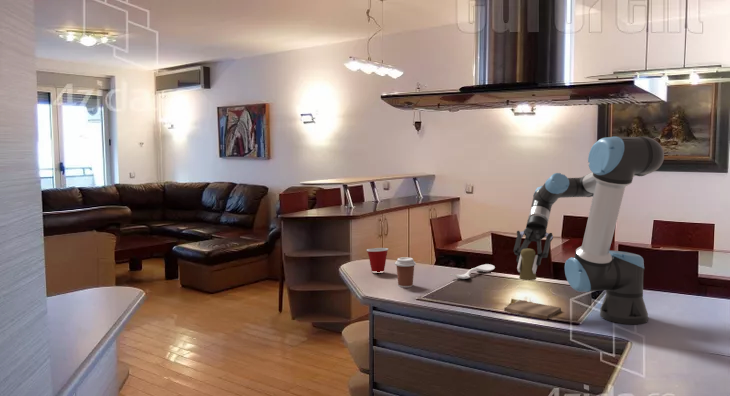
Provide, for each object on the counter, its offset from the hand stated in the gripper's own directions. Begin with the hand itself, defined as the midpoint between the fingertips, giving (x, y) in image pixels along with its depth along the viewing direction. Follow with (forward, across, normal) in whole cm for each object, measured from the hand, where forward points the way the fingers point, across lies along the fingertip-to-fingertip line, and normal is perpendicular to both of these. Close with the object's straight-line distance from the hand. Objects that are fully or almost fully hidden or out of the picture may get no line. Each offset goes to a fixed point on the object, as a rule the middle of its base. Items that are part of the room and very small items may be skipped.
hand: (526, 270), depth 198 cm
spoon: (-23, +37, -45) cm, 62 cm away
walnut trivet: (+9, -2, -12) cm, 15 cm away
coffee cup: (+2, +56, -20) cm, 59 cm away
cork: (+1, 0, -4) cm, 4 cm away
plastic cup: (-10, +79, -32) cm, 86 cm away
